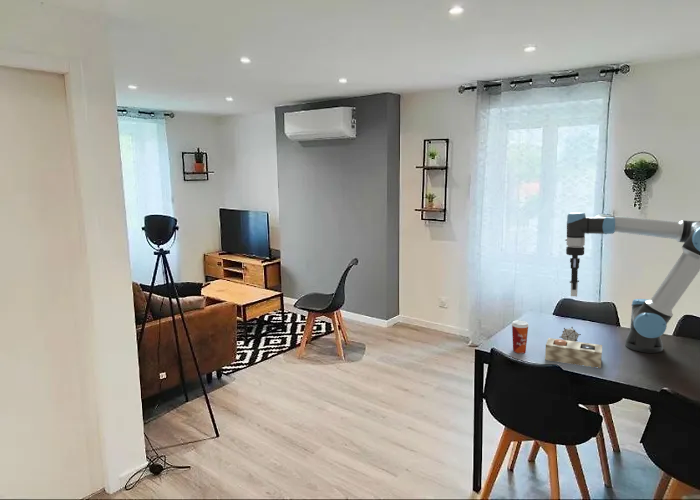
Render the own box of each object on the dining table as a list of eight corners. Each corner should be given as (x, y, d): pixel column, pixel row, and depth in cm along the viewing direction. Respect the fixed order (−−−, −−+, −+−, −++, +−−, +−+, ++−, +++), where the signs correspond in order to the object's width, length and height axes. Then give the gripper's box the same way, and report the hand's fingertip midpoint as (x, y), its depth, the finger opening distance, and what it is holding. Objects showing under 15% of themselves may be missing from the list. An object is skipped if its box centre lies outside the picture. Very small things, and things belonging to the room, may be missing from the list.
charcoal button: (593, 358, 206) (593, 346, 205) (592, 361, 202) (593, 349, 201) (581, 356, 208) (582, 344, 207) (580, 360, 204) (581, 348, 203)
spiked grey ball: (573, 351, 227) (584, 340, 220) (556, 345, 228) (566, 333, 221) (573, 338, 233) (583, 326, 226) (556, 331, 234) (566, 319, 227)
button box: (601, 360, 207) (602, 345, 206) (600, 368, 198) (601, 352, 197) (547, 352, 218) (548, 337, 216) (545, 359, 209) (545, 344, 208)
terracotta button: (565, 351, 211) (566, 340, 210) (565, 355, 207) (565, 343, 206) (554, 350, 213) (555, 338, 212) (553, 353, 209) (554, 341, 209)
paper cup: (519, 355, 215) (520, 326, 213) (507, 350, 222) (507, 321, 219) (531, 352, 218) (532, 323, 216) (519, 346, 225) (519, 318, 223)
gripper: (566, 243, 222) (565, 292, 226) (565, 248, 211) (564, 298, 214) (584, 244, 219) (583, 293, 222) (584, 248, 207) (582, 300, 211)
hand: (573, 295), depth 218 cm, fingers closed
